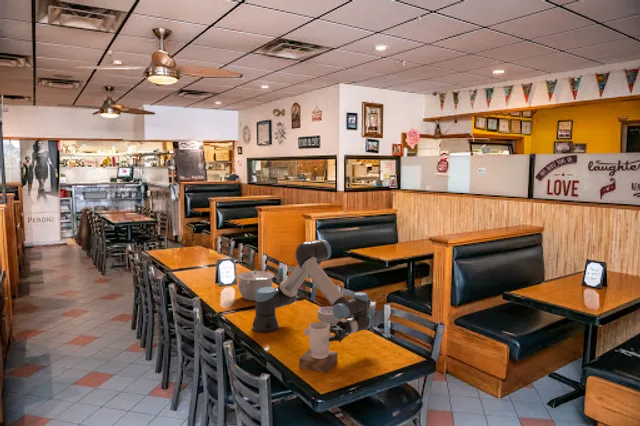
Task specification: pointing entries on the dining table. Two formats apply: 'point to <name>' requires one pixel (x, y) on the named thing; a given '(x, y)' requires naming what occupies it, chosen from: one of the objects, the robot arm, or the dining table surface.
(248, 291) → the chamber pot
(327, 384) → the dining table surface
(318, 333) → the jar
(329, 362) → the walnut block
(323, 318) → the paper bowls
